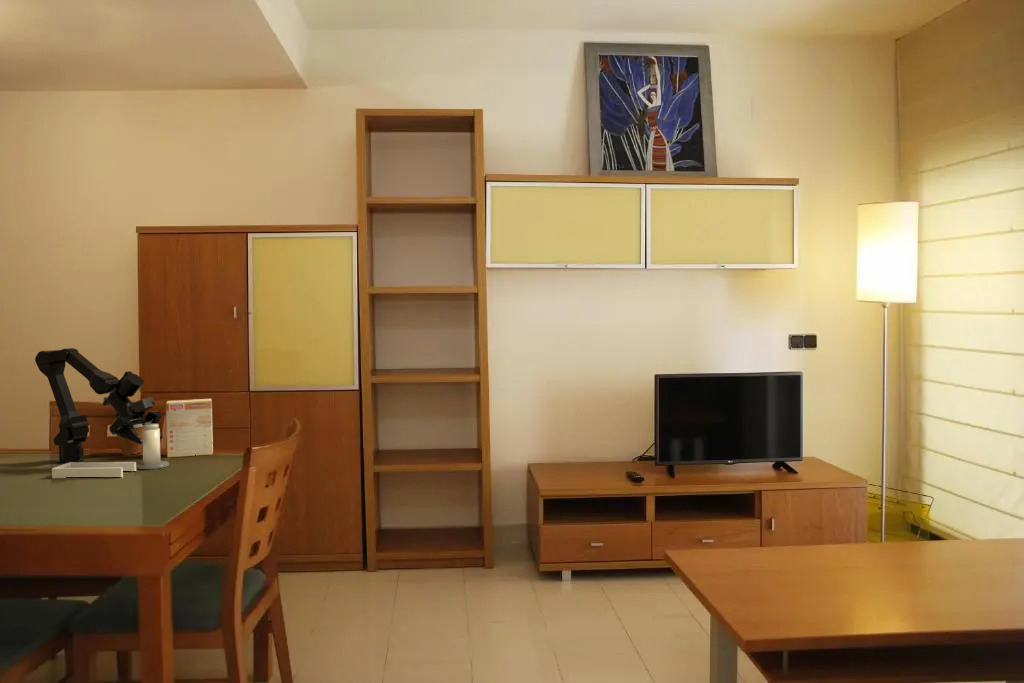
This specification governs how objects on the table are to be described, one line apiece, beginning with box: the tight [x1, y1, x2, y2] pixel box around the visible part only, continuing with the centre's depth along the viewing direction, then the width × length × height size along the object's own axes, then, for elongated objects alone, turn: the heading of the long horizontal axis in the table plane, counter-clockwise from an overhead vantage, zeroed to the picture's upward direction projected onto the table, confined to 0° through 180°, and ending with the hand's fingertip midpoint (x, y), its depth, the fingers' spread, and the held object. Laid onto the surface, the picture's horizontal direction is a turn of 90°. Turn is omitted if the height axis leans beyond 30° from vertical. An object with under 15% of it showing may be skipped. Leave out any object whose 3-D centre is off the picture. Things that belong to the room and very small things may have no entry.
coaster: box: [136, 460, 169, 470], centre depth 262 cm, size 10×10×1 cm
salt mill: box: [142, 423, 161, 465], centre depth 262 cm, size 5×5×13 cm
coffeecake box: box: [165, 398, 214, 458], centre depth 284 cm, size 15×7×20 cm, turn 110°
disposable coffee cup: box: [118, 424, 143, 456], centre depth 286 cm, size 10×10×12 cm
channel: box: [51, 461, 137, 479], centre depth 250 cm, size 21×10×3 cm, turn 91°
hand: (151, 441), depth 262 cm, fingers open, 9 cm apart
